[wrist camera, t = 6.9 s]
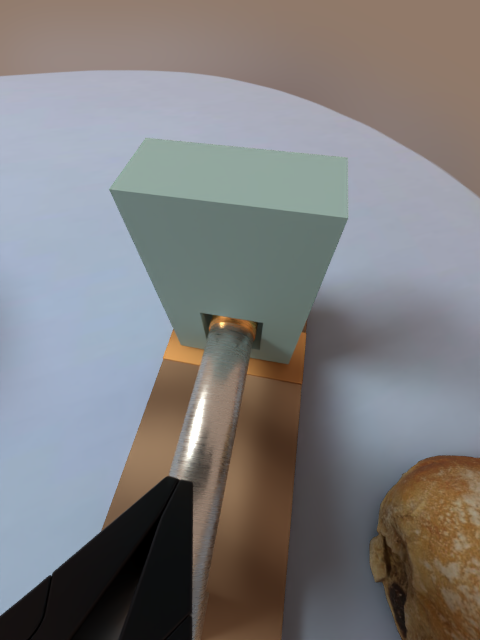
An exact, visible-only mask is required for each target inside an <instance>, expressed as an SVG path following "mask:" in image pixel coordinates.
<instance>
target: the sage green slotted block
mask: <svg viewBox="0 0 480 640" xmlns="http://www.w3.org/2000/svg"><path fill="white" fill-rule="evenodd" d="M109 190H110V192H111V194H112V196H113V199H114V201H115V203H116V205H117V207H118V209H119V212H120V214H121V216H122V218H123V220H124V222H125V225H126V227H127V229H128V231H129V233H130V235H131V238H132V240H133V242H134V244H135V246H136V248H137V251H138V253H139V255H140V257H141V259H142V262H143V264H144V266H145V268H146V270H147V272H148V275H149V277H150V279H151V281H152V283H153V285H154V288H155V290H156V292H157V294H158V296H159V298H160V301H161V303H162V305H163V307H164V309H165V311H166V314H167V316H168V318H169V320H170V322H171V324H172V327H173V329H174V331H175V333H176V335H177V337H178V340H179V342H180V344H181V345H183V346H188V347H194V348H199V349H205V345H206V342H207V338H208V335H209V326H210V322H211V319H212V315H218V316H224V317H230V318H236V319H242V320H248V321H254V322H258V326H257V331H256V336H255V340H254V341H253V344H252V349H251V355H250V358H255V359H261V360H267V361H272V362H278V363H283V364H289V362H290V359H291V357H292V354H293V352H294V350H295V347H296V345H297V342H298V340H299V337H300V335H301V332H302V330H303V327H304V325H305V323H306V320H307V318H308V315H309V313H310V310H311V308H312V305H313V303H314V301H315V298H316V296H317V293H318V291H319V288H320V286H321V283H322V281H323V278H324V276H325V274H326V271H327V269H328V266H329V264H330V261H331V259H332V256H333V254H334V251H335V249H336V247H337V244H338V242H339V239H340V237H341V234H342V232H343V229H344V227H345V224H346V222H347V220H348V158H346V157H336V156H325V155H315V154H305V153H295V152H284V151H274V150H264V149H254V148H244V147H233V146H223V145H213V144H203V143H192V142H182V141H172V140H162V139H151V138H145V140H144V141H143V143H142V144H141V145H140V147H139V148H138V150H137V151H136V152H135V154H134V155H133V157H132V158H131V159H130V161H129V162H128V164H127V165H126V166H125V168H124V169H123V171H122V172H121V173H120V175H119V176H118V178H117V179H116V180H115V182H114V183H113V185H112V186H111V188H110V189H109Z"/></svg>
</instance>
